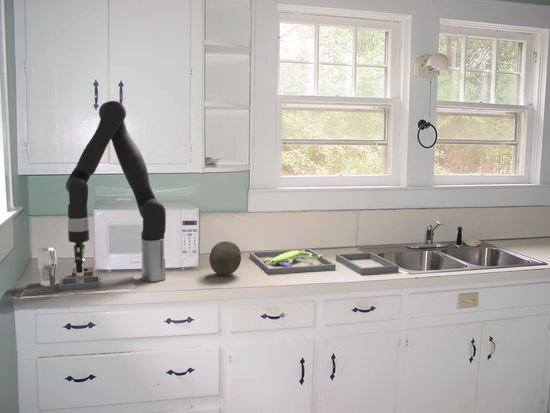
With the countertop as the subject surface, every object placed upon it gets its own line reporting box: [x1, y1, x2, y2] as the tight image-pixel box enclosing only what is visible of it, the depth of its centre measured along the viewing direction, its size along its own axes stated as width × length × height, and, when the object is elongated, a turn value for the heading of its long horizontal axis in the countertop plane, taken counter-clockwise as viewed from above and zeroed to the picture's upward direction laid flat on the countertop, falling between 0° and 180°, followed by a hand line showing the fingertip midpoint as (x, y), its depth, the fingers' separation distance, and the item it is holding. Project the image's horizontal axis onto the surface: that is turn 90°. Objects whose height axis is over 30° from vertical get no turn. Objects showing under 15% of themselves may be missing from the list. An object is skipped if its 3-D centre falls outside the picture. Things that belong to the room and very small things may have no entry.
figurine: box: [262, 250, 324, 267], centre depth 250 cm, size 18×27×6 cm
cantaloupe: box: [208, 241, 242, 277], centre depth 225 cm, size 14×14×15 cm
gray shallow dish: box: [335, 251, 400, 276], centre depth 247 cm, size 19×27×3 cm
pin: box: [72, 257, 86, 283], centre depth 204 cm, size 4×4×11 cm
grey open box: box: [249, 248, 337, 275], centre depth 250 cm, size 32×32×2 cm
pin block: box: [71, 266, 94, 277], centre depth 217 cm, size 8×8×4 cm
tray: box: [58, 275, 102, 291], centre depth 206 cm, size 15×10×3 cm, turn 108°
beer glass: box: [37, 246, 58, 287], centre depth 206 cm, size 7×7×15 cm
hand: (80, 269), depth 205 cm, fingers open, 8 cm apart
